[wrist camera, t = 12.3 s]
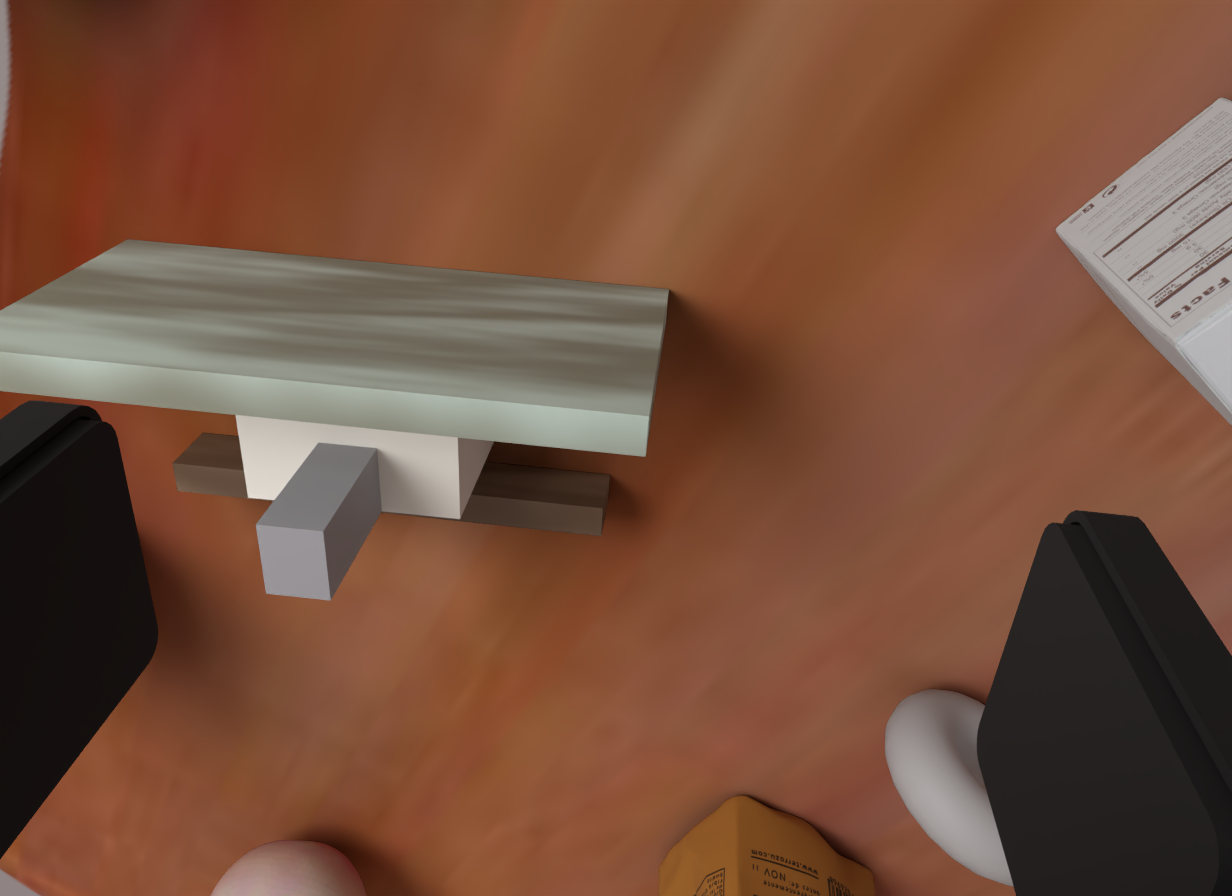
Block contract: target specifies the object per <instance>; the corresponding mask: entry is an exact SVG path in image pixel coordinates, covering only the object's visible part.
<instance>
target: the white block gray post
mask: <svg viewBox="0 0 1232 896" xmlns="http://www.w3.org/2000/svg"><path fill="white" fill-rule="evenodd" d="M236 421H237V428H238V434H239V441H240V447H241V454H242V461H243V467H244V474H245V480H246V487H247V494H248V498H256V499H266V500H274V501H273V503H272V504H271V505H270V507H269V508H268V509H267V511H266V512H265V513H264V514H263V516H262V517H261V518H260V520H259V521H258V522H257V524H256V529H257V536H258V542H259V549H260V556H261V563H262V569H263V576H264V583H265V589H266V594H275V595H285V596H294V597H303V598H313V599H322V600H331V599H332V597H333V596H334V594H335V592H336V590H337V589H338V587H339V585H340V583H341V582H342V580H343V578H344V576H345V575H346V573H347V571H348V569H349V568H350V566H351V564H352V562H353V561H354V559H355V557H356V555H357V554H358V552H359V550H360V548H361V547H362V545H363V543H364V541H365V540H366V538H367V536H368V534H369V533H370V531H371V529H372V527H373V526H374V524H375V522H376V520H377V519H378V517H379V515H380V513H381V512H382V511H384V512H394V513H404V514H414V515H423V516H433V517H443V518H453V519H460V518H461V516H462V514H463V511H464V509H465V507H466V505H467V502H468V500H469V498H470V495H471V493H472V491H473V489H474V486H475V484H476V482H477V479H478V477H479V475H480V473H481V470H482V468H483V466H484V463H485V461H486V459H487V457H488V454H489V452H490V450H491V447H492V445H493V443H494V441H487V440H477V439H467V438H457V437H447V436H438V435H428V434H418V433H408V432H398V431H389V430H379V429H369V428H359V427H349V426H340V425H330V424H320V423H310V422H300V421H291V420H281V419H271V418H261V417H251V416H242V415H236Z"/></svg>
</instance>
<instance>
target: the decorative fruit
mask: <svg viewBox="0 0 1232 896" xmlns="http://www.w3.org/2000/svg"><path fill="white" fill-rule="evenodd" d="M211 896H366V892H365V888H364V885H363V883H362V880H361V878H360V876H359V874H358V872H357V871H356V869H355V868H354V866H353V865H352V863H351V862H350V860H349V859H348V858H347V857H346V856H345V855H344V854H343V853H342V852H340V851H338V850H337V849H335V848H333V847H331V846H329V845H327V844H324V843H320V842H314V841H303V840H281V841H274V842H270V843H267V844H264V845H261V846H258V847H256V848H254V849H253V850H251V851H249V852H248V853H246V854H245V855H244V856H243V857H241V858H240V859H239V860H238V861H237V862H236V863H234V864H233V865H232V866H231V867H230V868H229V870H228V871H227V872H226V873H225V874H224V875H223V877H222V878H221V879H220V881H219V882H218V884H217V885H216V887H215V889H214V890H213V892H212V894H211Z"/></svg>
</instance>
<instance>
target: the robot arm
mask: <svg viewBox="0 0 1232 896" xmlns="http://www.w3.org/2000/svg"><path fill="white" fill-rule="evenodd" d="M157 640H158V626H157V621H156V616H155V611H154V607H153V602H152V597H151V593H150V588H149V583H148V579H147V574H146V569H145V565H144V560H143V555H142V551H141V546H140V541H139V537H138V532H137V527H136V523H135V518H134V513H133V509H132V504H131V499H130V495H129V490H128V485H127V481H126V476H125V471H124V466H123V462H122V457H121V452H120V448H119V443H118V438H117V435H116V432H115V430H114V429H113V427H112V426H111V425H110V424H108V423H107V422H102V420H101V417H100V416H99V414H98V413H97V412H96V410H94V409H92V408H91V407H89V406H83V405H73V404H64V403H54V402H45V401H28V402H26V403H24V404H22V405H20V406H19V407H17V408H16V409H15V410H13V411H12V412H10V413H9V414H8V415H6V416H5V417H3V418H2V419H1V420H0V859H1V858H2V856H3V855H4V854H5V852H6V851H7V850H8V848H9V847H10V846H11V844H12V843H13V842H14V840H15V839H16V838H17V836H18V835H19V834H20V832H21V831H22V830H23V829H24V827H25V826H26V825H27V823H28V822H29V821H30V819H31V818H32V817H33V815H34V814H35V813H36V811H37V810H38V809H39V807H40V806H41V805H42V803H43V802H44V801H45V800H46V798H47V797H48V796H49V794H50V793H51V792H52V790H53V789H54V788H55V786H56V785H57V784H58V782H59V781H60V780H61V778H62V777H63V776H64V774H65V773H66V772H67V771H68V769H69V768H70V767H71V765H72V764H73V763H74V761H75V760H76V759H77V757H78V756H79V755H80V753H81V752H82V751H83V749H84V748H85V747H86V745H87V744H88V743H89V742H90V740H91V739H92V738H93V736H94V735H95V734H96V732H97V731H98V730H99V728H100V727H101V726H102V724H103V723H104V722H105V720H106V719H107V718H108V716H109V715H110V714H111V712H112V711H113V710H114V709H115V707H116V706H117V705H118V703H119V702H120V701H121V699H122V698H123V697H124V695H125V694H126V693H127V691H128V690H129V689H130V687H131V686H132V685H133V683H134V682H135V681H136V680H137V678H138V677H139V676H140V674H141V673H142V672H143V670H144V669H145V668H146V666H147V665H148V664H149V662H150V660H151V659H152V657H153V654H154V652H155V649H156V645H157ZM977 758H978V762H979V767H980V770H981V774H982V777H983V781H984V784H985V788H986V791H987V795H988V798H989V802H990V805H991V809H992V812H993V816H994V819H995V823H996V826H997V830H998V833H999V837H1000V840H1001V844H1002V847H1003V851H1004V854H1005V858H1006V861H1007V865H1008V868H1009V872H1010V875H1011V879H1012V882H1013V886H1014V889H1015V893H1016V896H1232V656H1231V654H1230V653H1229V651H1228V650H1227V648H1226V647H1225V645H1224V644H1223V642H1222V641H1221V639H1220V638H1219V636H1218V635H1217V633H1216V632H1215V630H1214V629H1213V627H1212V625H1211V624H1210V622H1209V621H1208V619H1207V618H1206V616H1205V615H1204V613H1203V612H1202V610H1201V609H1200V607H1199V606H1198V604H1197V603H1196V601H1195V600H1194V598H1193V597H1192V595H1191V594H1190V592H1189V591H1188V589H1187V587H1186V586H1185V584H1184V583H1183V581H1182V580H1181V578H1180V577H1179V575H1178V574H1177V572H1176V571H1175V569H1174V568H1173V566H1172V565H1171V563H1170V562H1169V560H1168V559H1167V557H1166V556H1165V554H1164V553H1163V551H1162V550H1161V548H1160V546H1159V545H1158V543H1157V542H1156V540H1155V539H1154V537H1153V536H1152V534H1151V533H1150V531H1149V530H1148V528H1147V527H1146V525H1145V524H1144V523H1143V522H1142V521H1141V520H1140V519H1139V518H1138V517H1134V516H1126V515H1116V514H1107V513H1097V512H1088V511H1079V510H1075V511H1073V512H1071V513H1070V514H1069V515H1068V516H1067V517H1066V519H1065V520H1064V522H1063V524H1061V523H1051V524H1049V525H1048V526H1047V527H1046V528H1045V530H1044V532H1043V535H1042V537H1041V540H1040V543H1039V546H1038V549H1037V552H1036V555H1035V558H1034V561H1033V564H1032V567H1031V570H1030V573H1029V576H1028V579H1027V582H1026V585H1025V588H1024V591H1023V594H1022V597H1021V600H1020V603H1019V606H1018V609H1017V612H1016V615H1015V618H1014V621H1013V624H1012V627H1011V630H1010V633H1009V636H1008V639H1007V642H1006V645H1005V648H1004V651H1003V654H1002V657H1001V660H1000V663H999V666H998V669H997V672H996V675H995V678H994V681H993V684H992V687H991V690H990V693H989V696H988V699H987V702H986V705H985V708H984V711H983V714H982V717H981V720H980V723H979V727H978V732H977Z"/></svg>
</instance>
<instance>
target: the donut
mask: <svg viewBox="0 0 1232 896" xmlns="http://www.w3.org/2000/svg"><path fill="white" fill-rule="evenodd" d="M984 708H985V705H984V704H982V703H981V702H979V701H977V700H975V699H973V698H970V697H968V696H965V695H963V694H960V693H958V692H953V691H947V690H937V689H928V690H923V691H920V692H918V693H915V694H913V695H911V696H908V697H907V698H905V699H904V700H902V701H900V703H899V704H898V706H897V707H896V708H895V710H894V712H893V714H892V715H891V717H890V719H889V721H888V722H887V726H886V730H885V755H886V760H887V763H888V766H889V770H890V773H891V776H892V779H893V783H894V785H895V787H896V789H897V790H898V792H899V794H900V796H901V798H902V800H903V801H904V803H905V805H906V807H907V809H908V810H909V812H910V813H911V814H912V815H913V817H914V818H915V819H916V821H917V822H918V823H919V824H920V826H921V827H922V828H923V829H924V831H925V832H926V833H927V835H928V836H929V837H930V838H931V839H932V840H933V841H935V842H936V843H937V844H938V845H939V846H940V847H941V848H942V849H943V850H944V851H945V852H946V853H947V854H948V855H950V856H951V857H952V858H953V859H954V860H956V861H957V862H959V863H961V864H962V865H964V866H965V867H967V868H968V869H970V870H971V871H973V872H974V873H976V874H978V875H980V876H983V877H985V878H988V879H991V880H994V881H997V882H1000V883H1003V884H1005V885H1008V886H1013V882H1012V879H1011V875H1010V872H1009V868H1008V865H1007V861H1006V858H1005V854H1004V851H1003V847H1002V844H1001V840H1000V837H999V833H998V830H997V826H996V823H995V819H994V816H993V812H992V809H991V805H990V802H989V798H988V795H987V791H986V788H985V784H984V781H983V777H982V774H981V770H980V767H979V762H978V758H977V732H978V727H979V723H980V720H981V717H982V714H983V711H984Z"/></svg>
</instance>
